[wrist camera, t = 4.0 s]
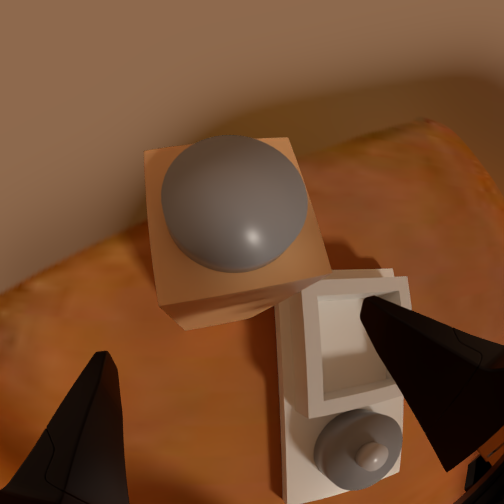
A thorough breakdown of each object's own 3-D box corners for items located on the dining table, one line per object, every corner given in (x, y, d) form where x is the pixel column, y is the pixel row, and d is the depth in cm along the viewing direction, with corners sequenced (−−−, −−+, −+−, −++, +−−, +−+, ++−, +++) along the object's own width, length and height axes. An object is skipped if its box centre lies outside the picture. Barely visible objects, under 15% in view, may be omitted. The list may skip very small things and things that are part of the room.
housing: (391, 467, 17) (424, 482, 13) (282, 499, 15) (302, 529, 11) (384, 272, 23) (419, 255, 18) (272, 274, 21) (292, 255, 16)
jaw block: (249, 318, 20) (346, 264, 7) (185, 330, 19) (153, 300, 6) (236, 257, 21) (295, 121, 8) (174, 267, 20) (140, 133, 7)
